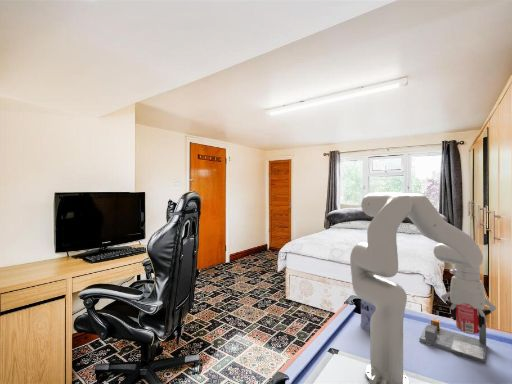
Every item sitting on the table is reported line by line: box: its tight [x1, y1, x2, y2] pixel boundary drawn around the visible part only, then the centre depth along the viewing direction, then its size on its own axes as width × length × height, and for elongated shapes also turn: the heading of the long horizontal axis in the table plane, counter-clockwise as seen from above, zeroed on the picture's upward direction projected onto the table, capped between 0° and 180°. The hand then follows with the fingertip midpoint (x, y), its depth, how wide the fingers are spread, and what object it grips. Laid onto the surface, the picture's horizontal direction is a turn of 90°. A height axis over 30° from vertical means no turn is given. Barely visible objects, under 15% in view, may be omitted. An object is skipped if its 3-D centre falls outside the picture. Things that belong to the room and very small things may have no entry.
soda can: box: [455, 301, 480, 335], centre depth 99 cm, size 7×7×12 cm
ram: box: [425, 318, 441, 342], centre depth 109 cm, size 15×3×4 cm, turn 137°
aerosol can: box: [360, 298, 376, 332], centre depth 118 cm, size 8×8×20 cm
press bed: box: [418, 316, 487, 364], centre depth 104 cm, size 16×20×11 cm
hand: (467, 322), depth 99 cm, fingers closed on soda can, 7 cm apart
